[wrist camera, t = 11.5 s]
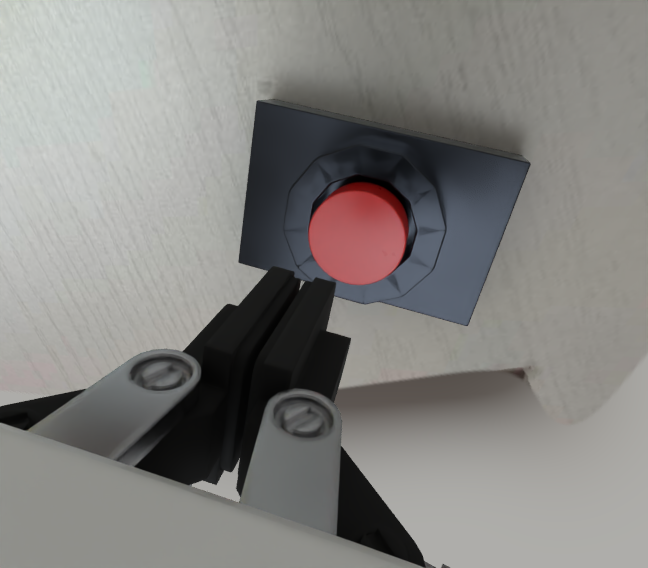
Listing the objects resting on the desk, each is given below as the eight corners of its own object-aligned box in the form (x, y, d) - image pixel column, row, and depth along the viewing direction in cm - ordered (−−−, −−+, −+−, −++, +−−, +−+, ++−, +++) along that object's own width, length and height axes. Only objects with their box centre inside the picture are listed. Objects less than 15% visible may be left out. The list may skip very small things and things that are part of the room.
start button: (420, 194, 19) (418, 204, 17) (395, 280, 20) (391, 296, 19) (327, 171, 19) (317, 179, 18) (311, 257, 21) (300, 271, 19)
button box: (522, 155, 20) (539, 170, 17) (465, 306, 24) (469, 346, 20) (272, 98, 22) (240, 101, 18) (253, 249, 26) (223, 276, 22)
